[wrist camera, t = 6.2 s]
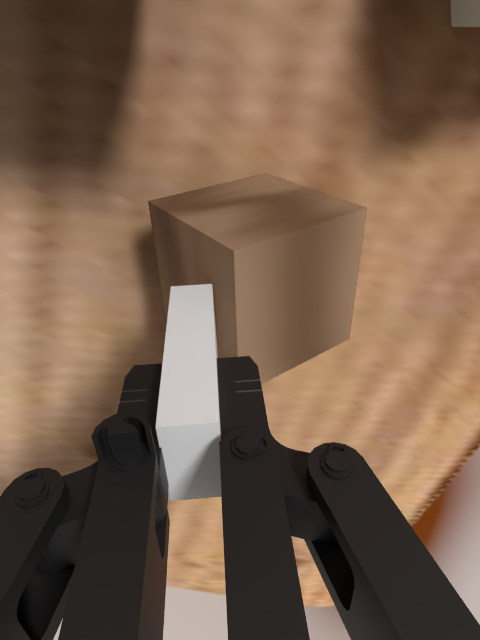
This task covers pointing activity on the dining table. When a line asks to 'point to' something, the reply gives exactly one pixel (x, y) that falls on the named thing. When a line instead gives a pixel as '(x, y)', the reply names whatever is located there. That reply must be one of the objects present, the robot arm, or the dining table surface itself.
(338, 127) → the dining table surface
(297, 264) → the walnut block
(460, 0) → the grey-green block
